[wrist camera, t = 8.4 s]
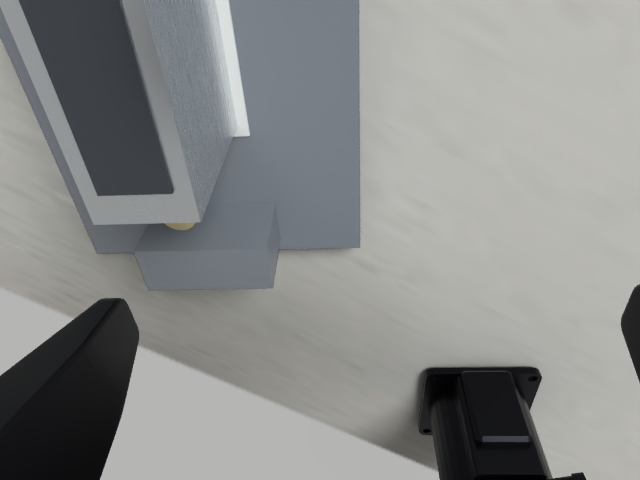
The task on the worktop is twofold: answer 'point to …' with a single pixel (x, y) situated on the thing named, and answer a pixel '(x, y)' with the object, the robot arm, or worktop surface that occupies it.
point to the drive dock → (257, 151)
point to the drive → (132, 100)
